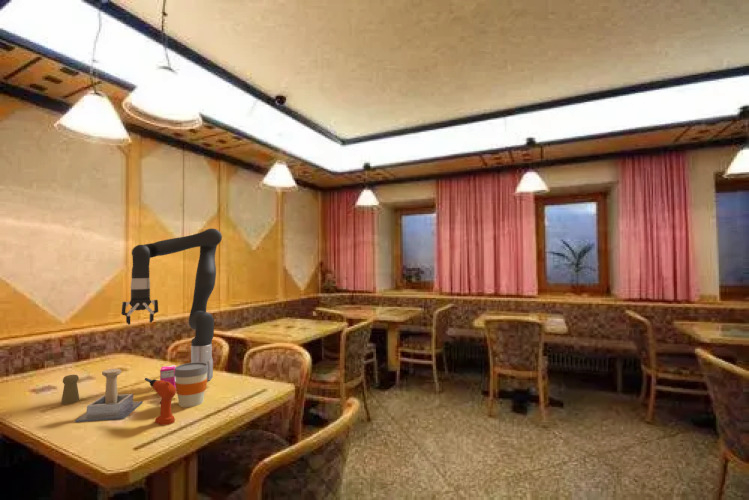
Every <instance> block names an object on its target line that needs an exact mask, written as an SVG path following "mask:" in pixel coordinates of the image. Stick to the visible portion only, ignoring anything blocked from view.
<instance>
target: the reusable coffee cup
mask: <svg viewBox="0 0 749 500" xmlns="http://www.w3.org/2000/svg"><path fill="white" fill-rule="evenodd" d="M207 372H208V364H207V363H203V362H195V363H191V362H187V363H183V364H179V365H177V366H176V367H175V373H174V376H175V378H176V381H175V387H176V395H177V400H178V405H179V407H180V408H191V407H196V406H199V405H201V404H203V403H204V399H205V391H206V390H207V386H208V385H207V383H208V381H207Z"/></svg>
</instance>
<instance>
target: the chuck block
mask: <svg viewBox="0 0 749 500" xmlns="http://www.w3.org/2000/svg"><path fill="white" fill-rule="evenodd" d="M143 402H144V401H143V400H141V401H140V400H139V401H134V393H126V394H117V403H110V404H105V395H102V396H101V397H99V398H97V399H96V400H94V401H93V402H91V403H89V404H87V406H86V412H85V413H84V414H82V415H81V416H79V417H77V418H76V419H75V420H74V423H86V422H88V423H89V422H99V421H113V420H124V419H125V418H126V417H128V416H129V415H130V414H131V413H133V412H134V411H135V410H136V409H137V408H139V407H140V406H141V405H142V404H143Z"/></svg>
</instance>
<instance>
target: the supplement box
mask: <svg viewBox="0 0 749 500" xmlns="http://www.w3.org/2000/svg"><path fill="white" fill-rule="evenodd" d="M175 367H177V366H176V364H175V365H173V364H172V365H164V366H161V368H160V370H159V373H160V374H159V375H160V376H159V377H160V379H159V380H163V381H165V382H170V383H171V384H172V385H173V386H174V387H175V381H176V378H175V376H174V373H175ZM175 388H176V387H175Z"/></svg>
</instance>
